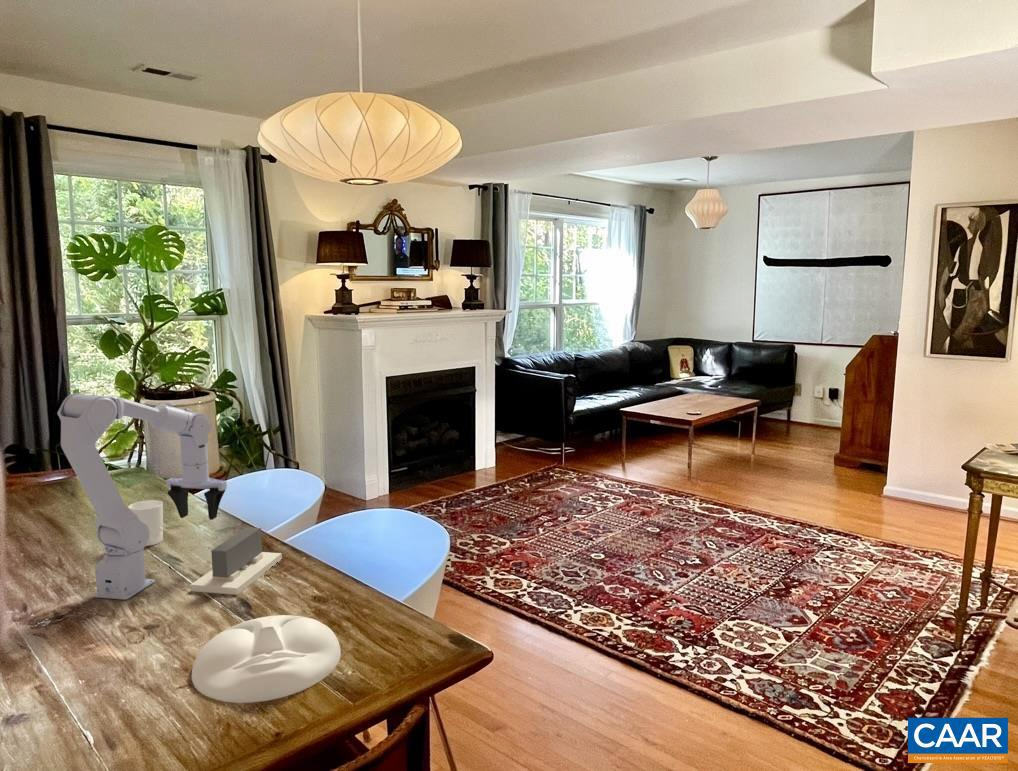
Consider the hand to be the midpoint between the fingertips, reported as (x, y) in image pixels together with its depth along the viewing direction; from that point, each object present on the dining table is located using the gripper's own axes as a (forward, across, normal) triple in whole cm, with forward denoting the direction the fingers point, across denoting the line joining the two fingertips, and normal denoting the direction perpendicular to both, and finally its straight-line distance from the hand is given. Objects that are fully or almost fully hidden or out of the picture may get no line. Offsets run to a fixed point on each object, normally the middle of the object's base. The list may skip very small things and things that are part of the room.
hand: (198, 517), depth 169 cm
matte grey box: (+8, -14, +7) cm, 17 cm away
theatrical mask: (+11, -39, +41) cm, 58 cm away
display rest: (+10, -14, +7) cm, 19 cm away
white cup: (+11, +20, -8) cm, 24 cm away
